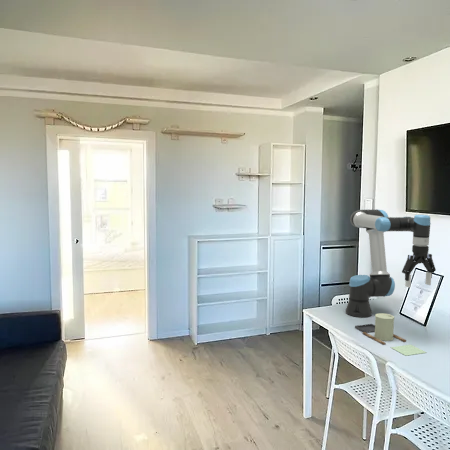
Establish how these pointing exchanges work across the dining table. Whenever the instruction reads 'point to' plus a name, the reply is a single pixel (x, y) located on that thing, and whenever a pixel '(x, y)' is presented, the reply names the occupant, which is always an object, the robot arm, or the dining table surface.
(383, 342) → the lane
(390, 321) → the can
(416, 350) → the mat
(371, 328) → the tray
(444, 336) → the dining table surface
